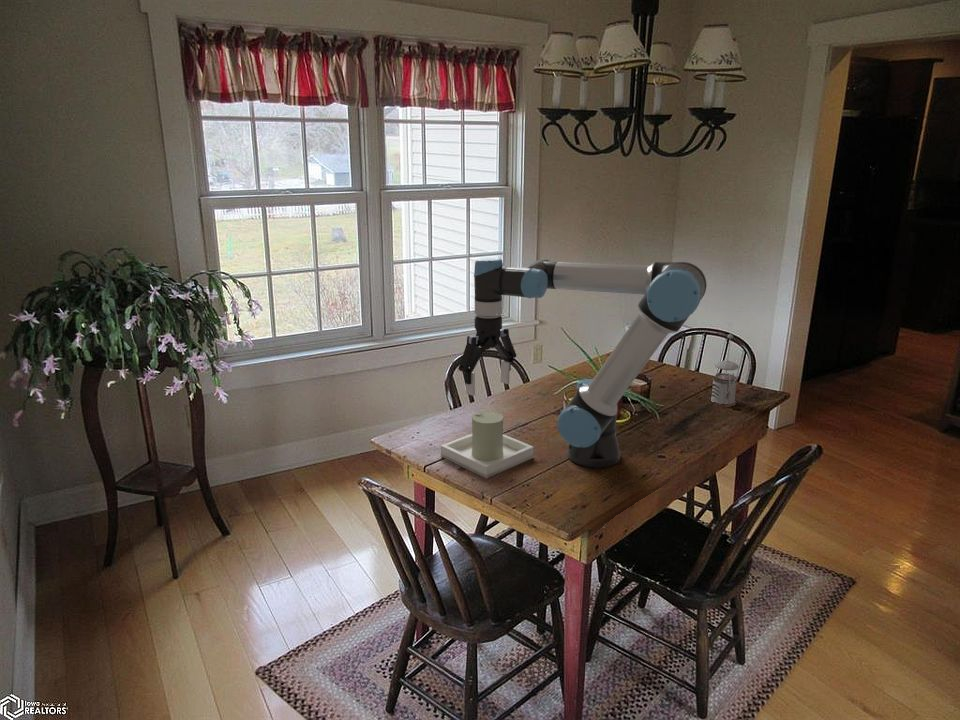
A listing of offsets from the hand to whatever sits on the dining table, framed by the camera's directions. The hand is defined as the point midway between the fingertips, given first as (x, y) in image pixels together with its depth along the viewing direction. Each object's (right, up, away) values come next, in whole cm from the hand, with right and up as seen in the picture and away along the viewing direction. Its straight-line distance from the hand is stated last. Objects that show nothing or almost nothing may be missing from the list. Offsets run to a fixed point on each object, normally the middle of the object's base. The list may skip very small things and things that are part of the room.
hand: (488, 388), depth 193 cm
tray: (0, -20, +7) cm, 21 cm away
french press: (+83, -7, +49) cm, 97 cm away
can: (0, -19, +6) cm, 20 cm away
